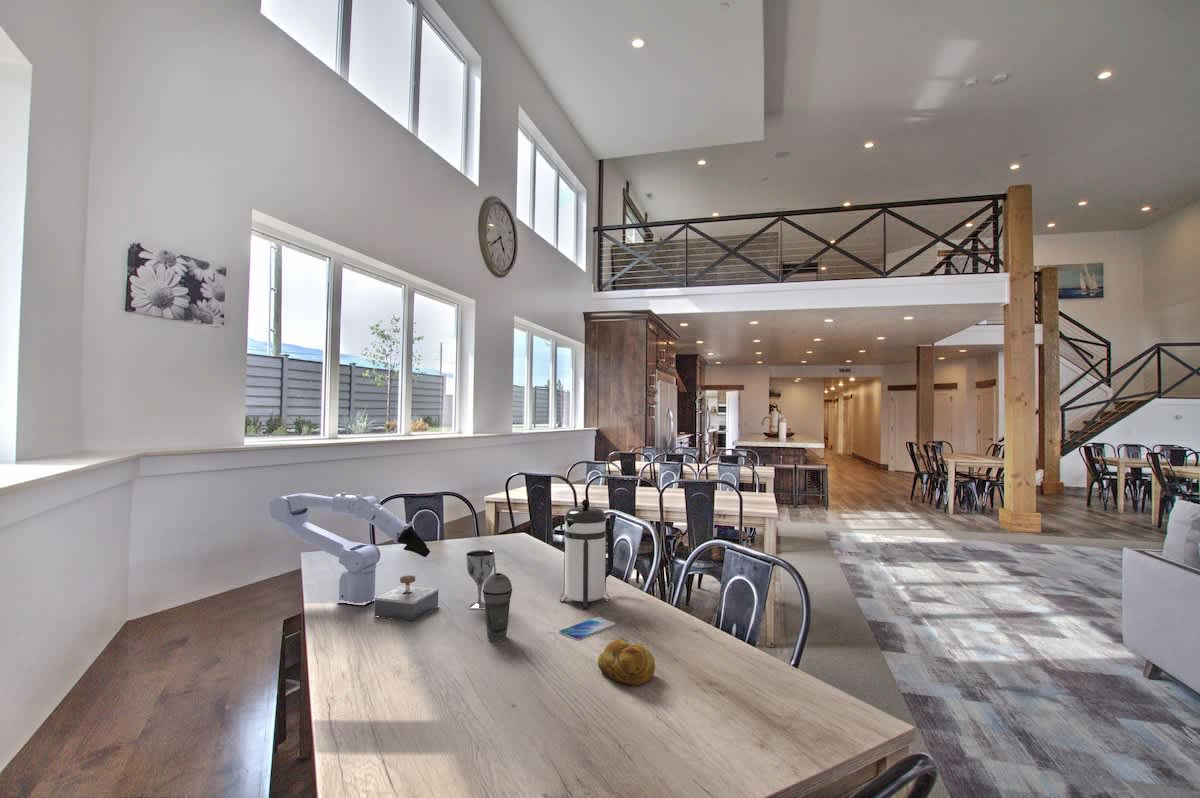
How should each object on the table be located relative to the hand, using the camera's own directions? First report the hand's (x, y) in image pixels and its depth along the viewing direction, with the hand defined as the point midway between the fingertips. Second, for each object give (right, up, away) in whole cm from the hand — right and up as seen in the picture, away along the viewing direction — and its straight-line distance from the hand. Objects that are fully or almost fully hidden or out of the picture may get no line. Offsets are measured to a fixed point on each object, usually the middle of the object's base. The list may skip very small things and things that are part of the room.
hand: (426, 551), depth 160 cm
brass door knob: (-3, -12, -6) cm, 14 cm away
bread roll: (+56, -14, -44) cm, 72 cm away
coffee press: (+46, -16, +5) cm, 49 cm away
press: (-3, -15, -5) cm, 16 cm away
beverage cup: (+25, -15, -24) cm, 38 cm away
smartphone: (+47, -16, -18) cm, 53 cm away
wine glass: (+16, -16, -1) cm, 22 cm away
